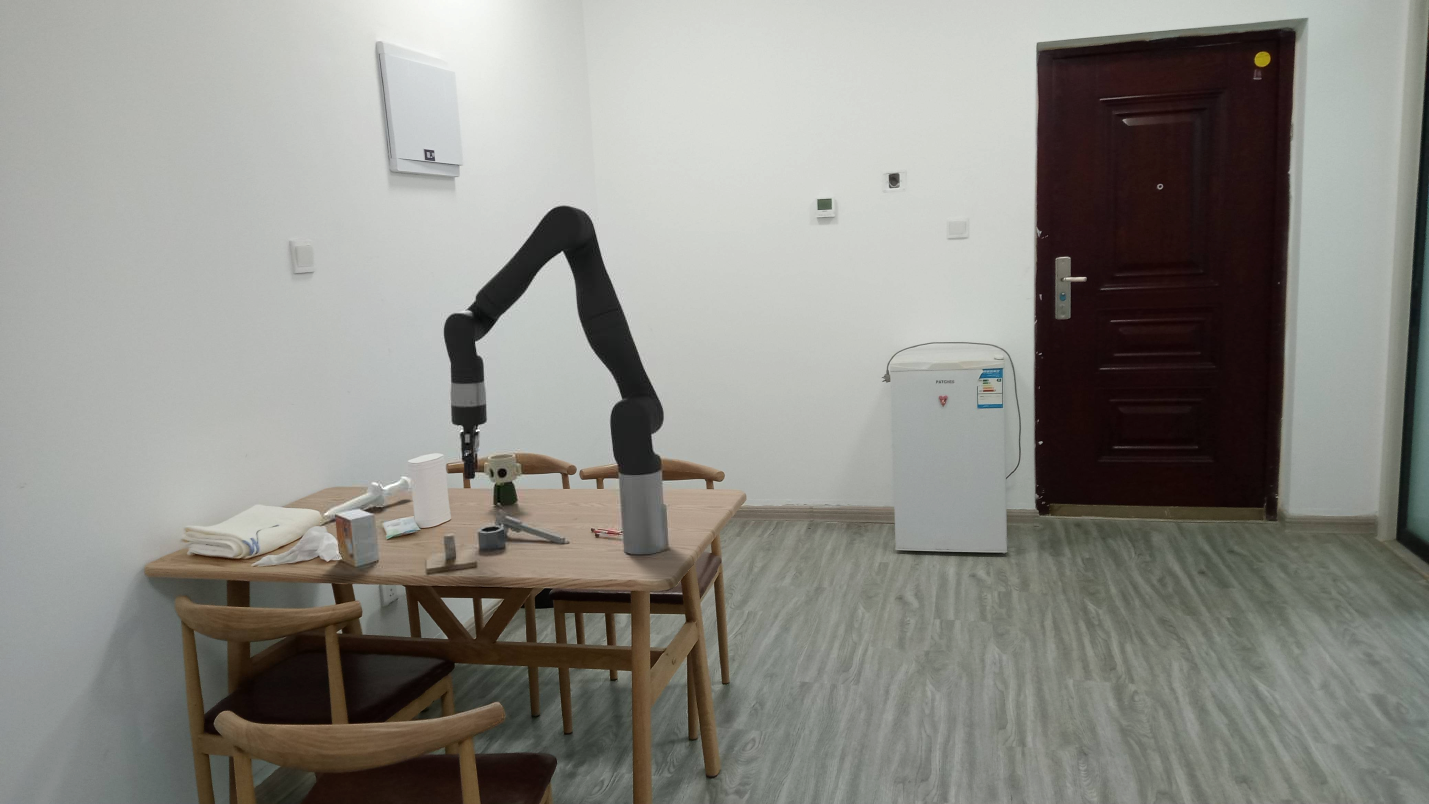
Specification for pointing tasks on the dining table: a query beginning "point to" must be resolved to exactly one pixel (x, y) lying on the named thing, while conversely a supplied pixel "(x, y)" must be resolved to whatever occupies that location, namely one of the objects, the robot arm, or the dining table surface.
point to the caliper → (525, 528)
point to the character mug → (503, 477)
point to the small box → (357, 537)
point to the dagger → (372, 497)
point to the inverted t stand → (450, 557)
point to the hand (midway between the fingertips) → (471, 474)
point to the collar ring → (491, 537)
